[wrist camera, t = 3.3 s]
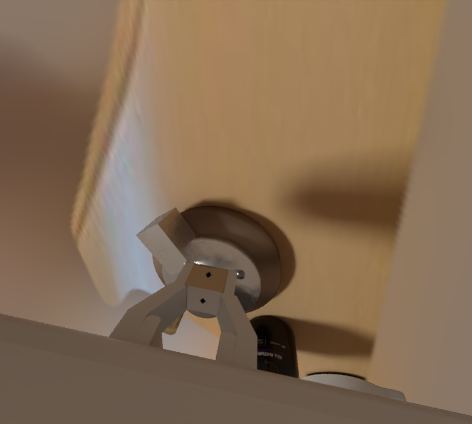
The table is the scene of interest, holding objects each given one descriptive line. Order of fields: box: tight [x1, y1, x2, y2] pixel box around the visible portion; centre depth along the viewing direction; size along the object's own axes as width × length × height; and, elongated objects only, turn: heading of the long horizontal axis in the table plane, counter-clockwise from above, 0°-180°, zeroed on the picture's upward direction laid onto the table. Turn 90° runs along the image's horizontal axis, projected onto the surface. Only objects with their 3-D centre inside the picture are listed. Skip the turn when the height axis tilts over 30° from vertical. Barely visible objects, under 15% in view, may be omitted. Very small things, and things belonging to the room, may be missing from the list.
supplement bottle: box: [250, 316, 299, 378], centre depth 19 cm, size 7×7×12 cm
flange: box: [136, 208, 261, 318], centre depth 17 cm, size 13×10×4 cm
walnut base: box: [153, 206, 281, 335], centre depth 18 cm, size 14×14×6 cm
